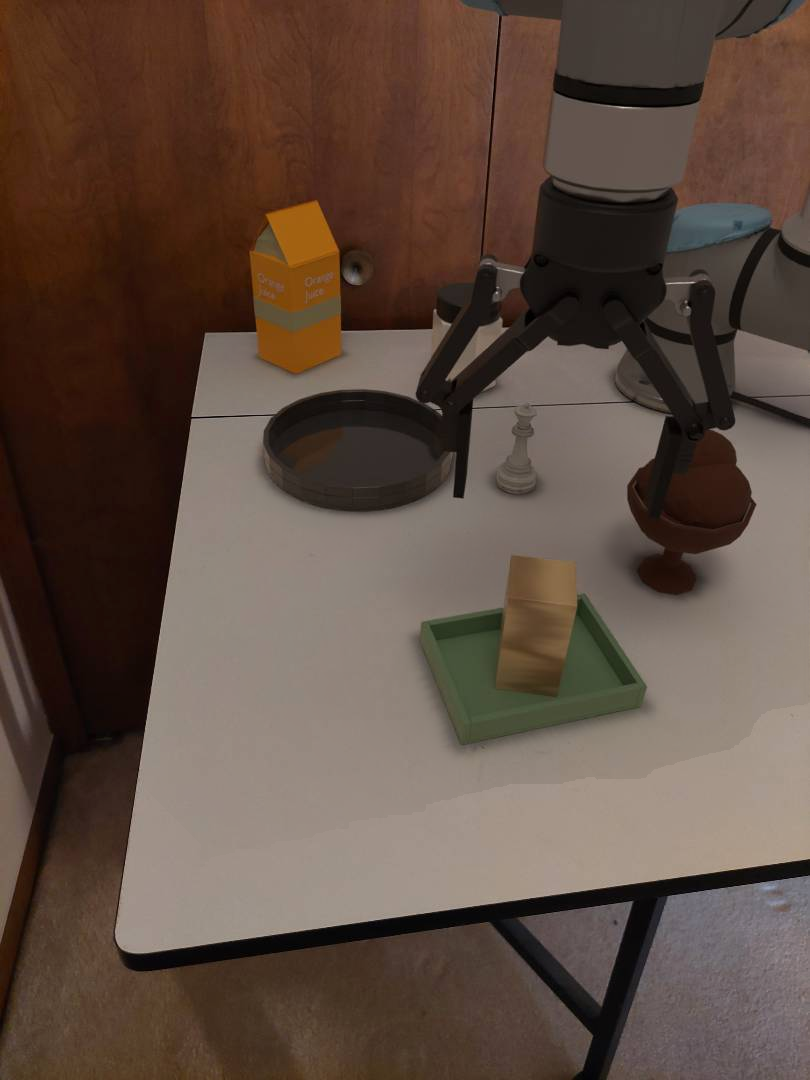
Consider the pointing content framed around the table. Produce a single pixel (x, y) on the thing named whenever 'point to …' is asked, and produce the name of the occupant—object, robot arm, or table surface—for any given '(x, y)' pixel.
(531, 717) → the tray
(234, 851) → the table surface
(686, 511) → the ice cream bowl
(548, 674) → the block
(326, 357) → the orange juice
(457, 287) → the jar
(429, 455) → the pan
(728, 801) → the table surface
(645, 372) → the robot arm
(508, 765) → the table surface
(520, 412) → the chess piece
